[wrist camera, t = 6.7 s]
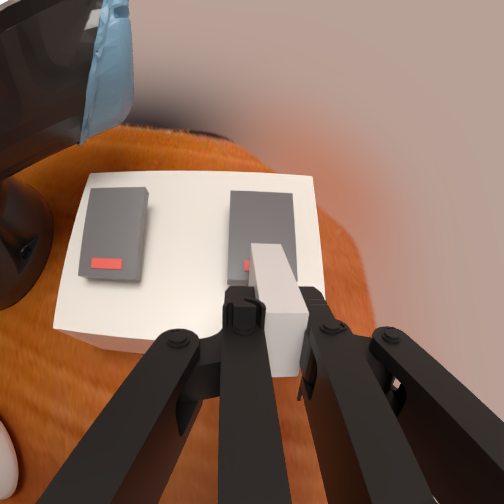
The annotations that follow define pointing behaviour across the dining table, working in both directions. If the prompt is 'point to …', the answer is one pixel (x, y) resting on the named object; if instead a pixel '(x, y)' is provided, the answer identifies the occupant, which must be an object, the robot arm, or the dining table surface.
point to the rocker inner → (114, 234)
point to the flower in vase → (7, 465)
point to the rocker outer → (259, 229)
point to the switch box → (176, 257)
